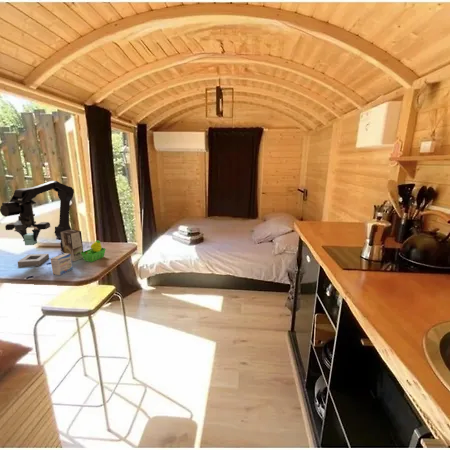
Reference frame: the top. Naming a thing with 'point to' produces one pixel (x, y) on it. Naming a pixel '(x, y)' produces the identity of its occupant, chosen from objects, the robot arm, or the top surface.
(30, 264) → the pocket plate
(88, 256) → the fruit basket
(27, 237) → the block
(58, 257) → the medicine box
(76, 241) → the coffee box
